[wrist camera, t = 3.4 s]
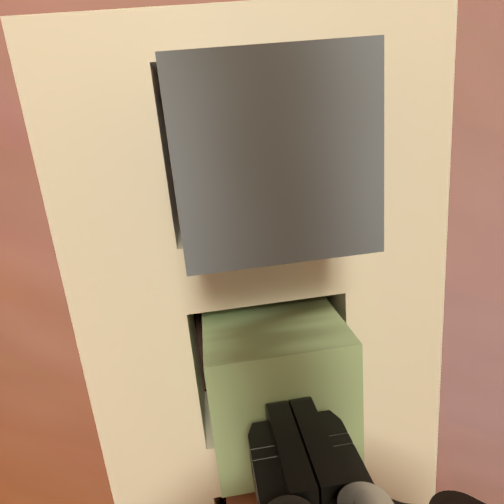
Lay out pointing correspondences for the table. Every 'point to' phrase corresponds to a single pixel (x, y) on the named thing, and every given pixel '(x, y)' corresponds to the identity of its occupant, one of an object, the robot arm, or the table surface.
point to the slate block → (276, 150)
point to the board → (239, 281)
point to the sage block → (276, 374)
